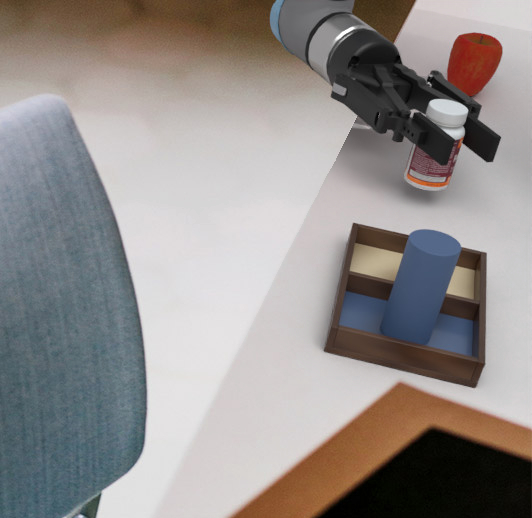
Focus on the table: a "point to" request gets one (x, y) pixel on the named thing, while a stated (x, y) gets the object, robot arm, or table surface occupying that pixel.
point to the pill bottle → (422, 165)
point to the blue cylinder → (420, 285)
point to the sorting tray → (375, 302)
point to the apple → (473, 61)
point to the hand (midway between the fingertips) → (471, 151)
